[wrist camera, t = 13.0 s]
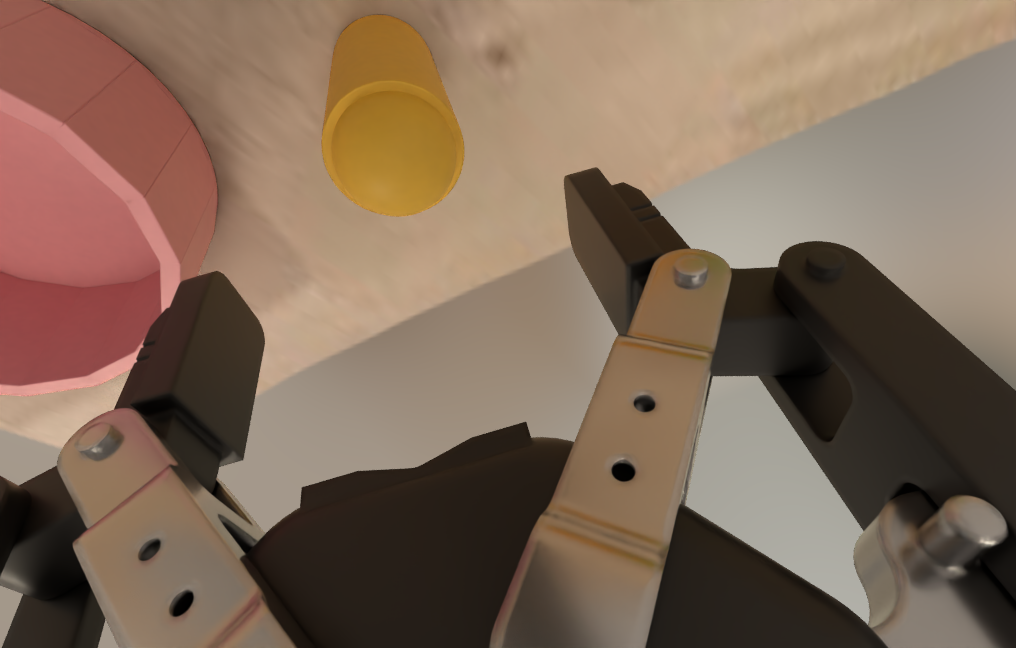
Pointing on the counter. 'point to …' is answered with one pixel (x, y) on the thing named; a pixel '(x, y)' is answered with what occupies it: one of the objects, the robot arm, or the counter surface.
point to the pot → (89, 202)
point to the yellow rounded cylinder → (389, 120)
